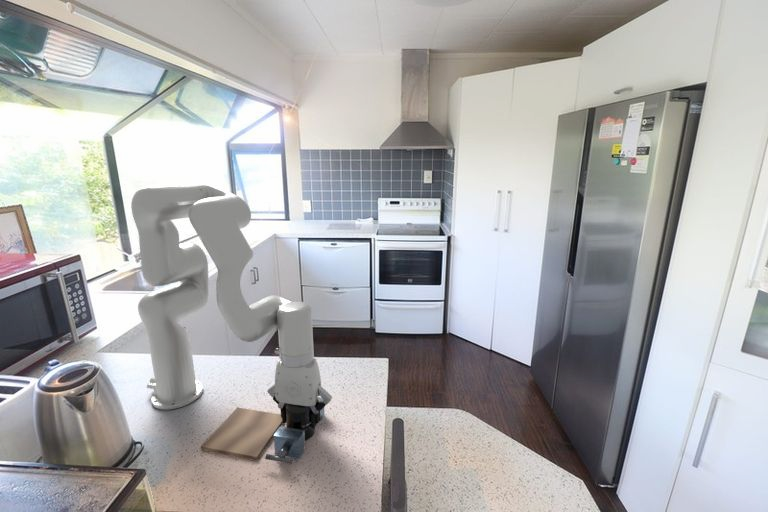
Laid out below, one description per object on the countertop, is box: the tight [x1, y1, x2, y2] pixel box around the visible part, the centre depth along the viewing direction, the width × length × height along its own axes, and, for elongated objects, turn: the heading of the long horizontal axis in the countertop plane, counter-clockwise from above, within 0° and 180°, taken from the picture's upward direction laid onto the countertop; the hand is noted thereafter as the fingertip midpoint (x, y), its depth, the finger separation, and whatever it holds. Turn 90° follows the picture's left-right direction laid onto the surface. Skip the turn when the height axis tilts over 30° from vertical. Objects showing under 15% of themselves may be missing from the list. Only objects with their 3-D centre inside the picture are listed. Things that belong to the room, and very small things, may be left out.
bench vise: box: [264, 396, 325, 465], centre depth 86 cm, size 6×19×5 cm, turn 168°
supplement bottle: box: [285, 403, 316, 442], centre depth 87 cm, size 7×7×12 cm
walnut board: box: [200, 407, 284, 462], centre depth 88 cm, size 14×14×1 cm
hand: (300, 421), depth 87 cm, fingers closed on supplement bottle, 6 cm apart
